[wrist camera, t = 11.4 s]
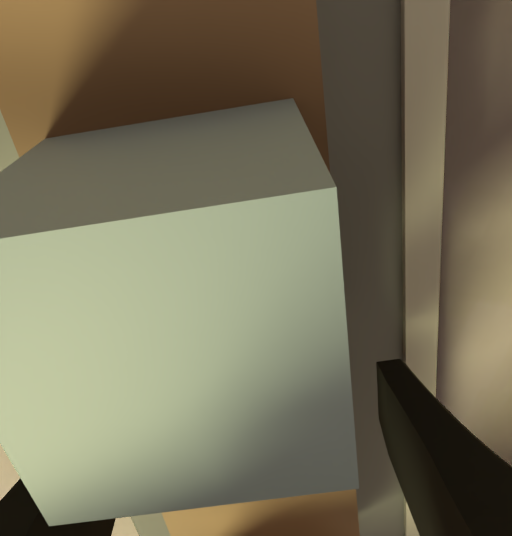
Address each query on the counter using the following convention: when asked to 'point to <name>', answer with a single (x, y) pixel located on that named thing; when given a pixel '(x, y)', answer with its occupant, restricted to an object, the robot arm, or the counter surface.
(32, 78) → the board
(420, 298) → the dock
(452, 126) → the counter surface
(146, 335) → the block
